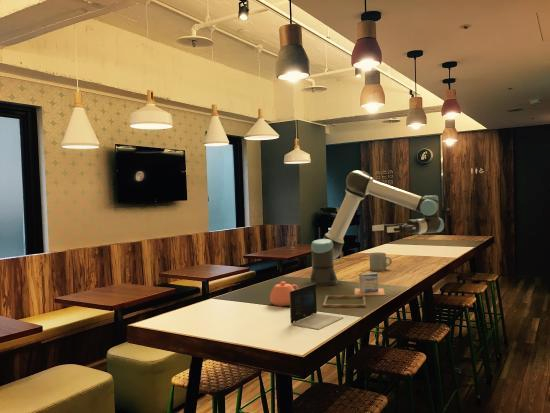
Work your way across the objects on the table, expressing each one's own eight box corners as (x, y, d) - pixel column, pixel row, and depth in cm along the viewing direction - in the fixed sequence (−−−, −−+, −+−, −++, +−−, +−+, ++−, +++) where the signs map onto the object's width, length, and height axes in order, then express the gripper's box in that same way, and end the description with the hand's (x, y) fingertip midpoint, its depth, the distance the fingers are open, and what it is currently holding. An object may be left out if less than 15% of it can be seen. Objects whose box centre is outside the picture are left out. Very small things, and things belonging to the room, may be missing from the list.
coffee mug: (367, 270, 285) (366, 254, 285) (373, 267, 293) (373, 252, 293) (388, 271, 277) (387, 255, 277) (393, 268, 286) (393, 253, 285)
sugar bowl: (266, 303, 208) (265, 280, 207) (294, 299, 213) (293, 277, 212) (275, 309, 196) (274, 285, 196) (305, 305, 201) (304, 282, 201)
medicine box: (364, 293, 219) (363, 275, 218) (359, 291, 223) (358, 273, 223) (378, 291, 221) (378, 273, 221) (373, 289, 226) (373, 272, 225)
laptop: (318, 331, 164) (317, 294, 163) (290, 326, 171) (289, 291, 171) (343, 319, 178) (342, 285, 178) (316, 314, 186) (315, 283, 185)
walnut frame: (322, 307, 196) (322, 304, 196) (326, 297, 214) (326, 295, 214) (365, 307, 193) (365, 305, 193) (365, 297, 211) (365, 295, 211)
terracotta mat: (354, 295, 216) (354, 294, 216) (354, 289, 230) (354, 288, 230) (384, 295, 214) (384, 294, 214) (383, 289, 228) (383, 288, 227)
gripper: (431, 235, 224) (394, 238, 217) (401, 232, 247) (367, 234, 240) (431, 220, 223) (393, 222, 216) (401, 218, 247) (366, 220, 240)
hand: (379, 229), depth 228 cm, fingers open, 13 cm apart
